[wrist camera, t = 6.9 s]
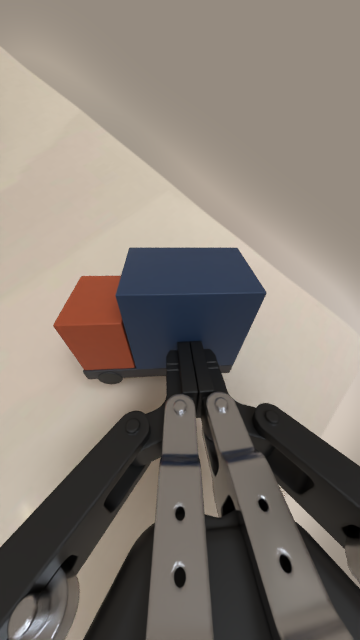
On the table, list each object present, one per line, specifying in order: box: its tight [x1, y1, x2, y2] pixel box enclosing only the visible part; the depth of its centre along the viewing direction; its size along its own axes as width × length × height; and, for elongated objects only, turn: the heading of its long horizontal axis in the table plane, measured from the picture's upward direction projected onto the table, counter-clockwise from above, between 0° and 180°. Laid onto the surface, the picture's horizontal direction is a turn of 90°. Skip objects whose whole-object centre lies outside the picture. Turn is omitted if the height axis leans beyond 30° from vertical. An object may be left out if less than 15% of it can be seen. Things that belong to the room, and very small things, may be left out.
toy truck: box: [53, 248, 266, 384], centre depth 13 cm, size 11×5×9 cm
